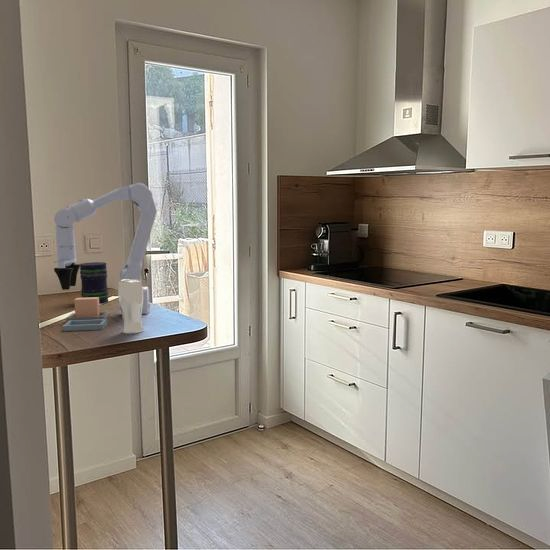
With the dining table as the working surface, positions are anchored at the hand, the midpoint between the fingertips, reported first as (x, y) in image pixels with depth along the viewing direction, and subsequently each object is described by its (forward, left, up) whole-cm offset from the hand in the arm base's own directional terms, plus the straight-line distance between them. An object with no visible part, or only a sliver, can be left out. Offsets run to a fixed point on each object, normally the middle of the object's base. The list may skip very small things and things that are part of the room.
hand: (69, 287), depth 183 cm
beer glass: (-23, +25, -10) cm, 36 cm away
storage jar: (-2, -30, -10) cm, 31 cm away
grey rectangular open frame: (-6, +4, -10) cm, 12 cm away
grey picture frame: (-8, +16, -10) cm, 21 cm away
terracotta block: (-6, +4, -10) cm, 13 cm away
